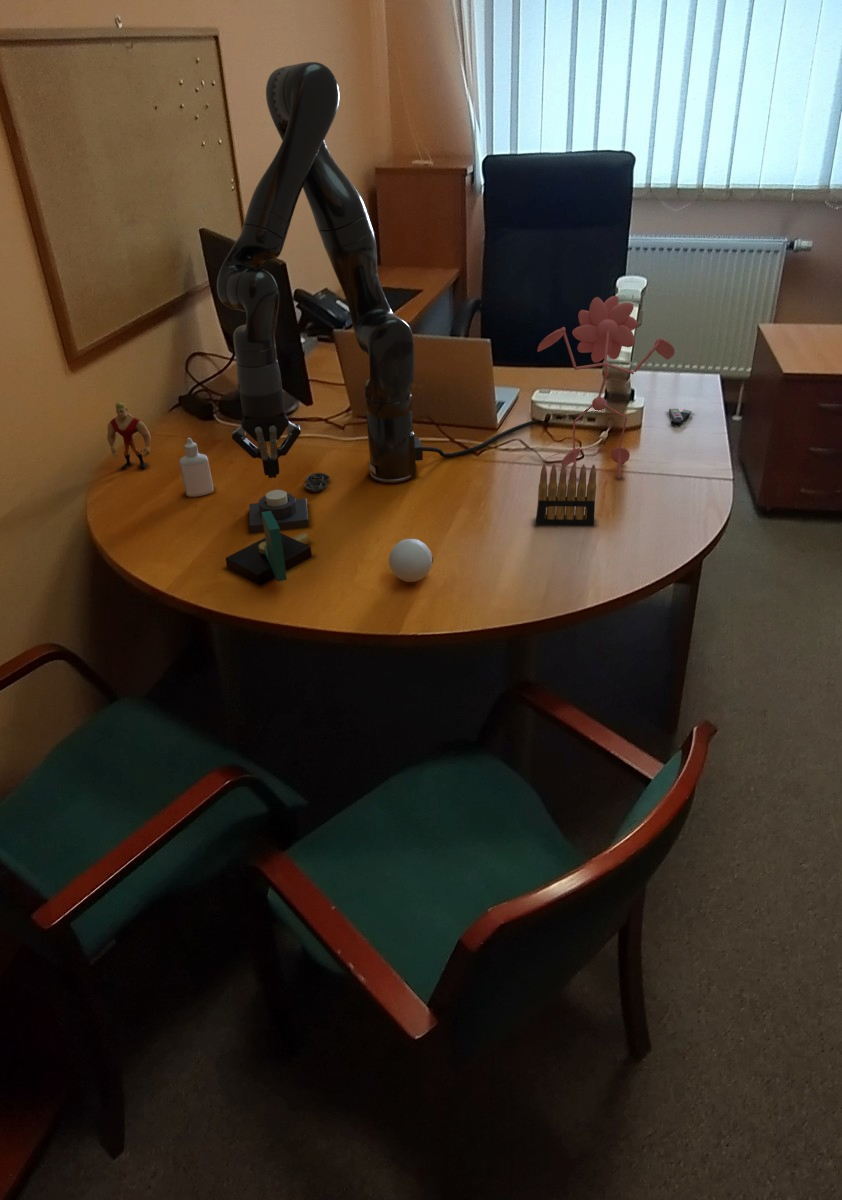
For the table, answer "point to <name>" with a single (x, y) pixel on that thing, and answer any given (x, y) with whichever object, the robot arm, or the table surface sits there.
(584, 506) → the ammunition clip
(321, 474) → the corroded twin loop
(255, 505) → the button housing
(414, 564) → the white sphere
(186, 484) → the eye dropper bottle
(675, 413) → the usb flash drive
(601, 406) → the flower sculpture
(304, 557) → the valve block
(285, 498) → the button
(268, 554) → the valve lever
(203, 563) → the table surface
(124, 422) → the action figure
